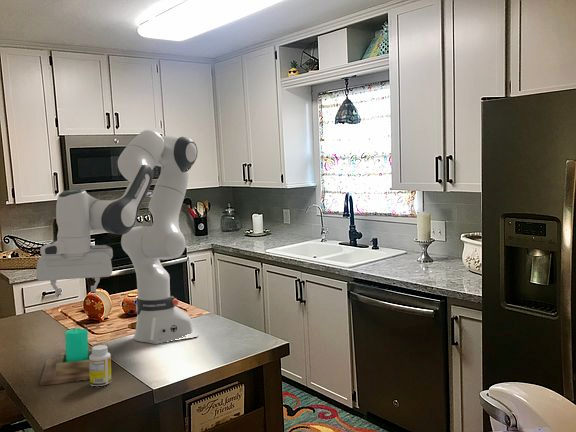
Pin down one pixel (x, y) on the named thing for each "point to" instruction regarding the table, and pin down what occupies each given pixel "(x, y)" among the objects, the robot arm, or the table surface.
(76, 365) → the candle holder
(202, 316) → the table surface
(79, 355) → the candle
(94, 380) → the supplement bottle
